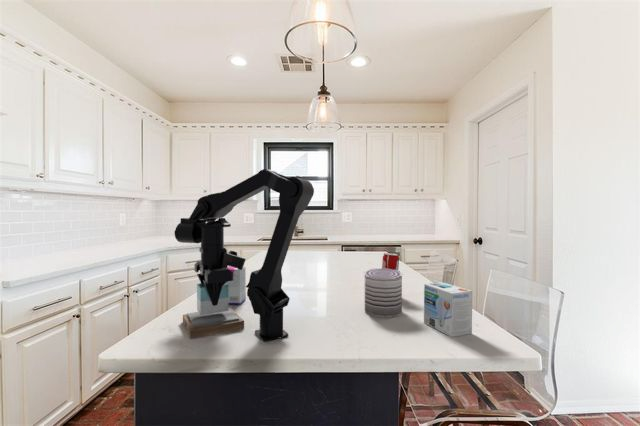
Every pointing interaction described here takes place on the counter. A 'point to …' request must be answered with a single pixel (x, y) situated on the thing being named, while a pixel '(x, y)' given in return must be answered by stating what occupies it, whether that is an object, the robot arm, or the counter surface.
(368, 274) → the can
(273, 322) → the robot arm
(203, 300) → the teal and white box
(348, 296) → the counter surface
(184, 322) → the square wooden frame
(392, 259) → the beverage can
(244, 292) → the supplement box
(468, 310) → the light bulb box
